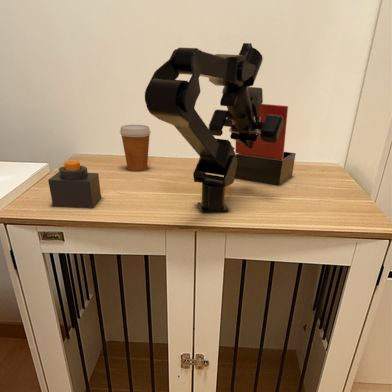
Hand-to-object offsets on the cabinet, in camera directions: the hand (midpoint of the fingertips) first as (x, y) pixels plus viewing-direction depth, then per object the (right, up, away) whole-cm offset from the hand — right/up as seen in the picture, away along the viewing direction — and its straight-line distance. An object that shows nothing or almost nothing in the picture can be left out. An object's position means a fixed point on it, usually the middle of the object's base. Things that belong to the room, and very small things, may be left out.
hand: (251, 146), depth 112 cm
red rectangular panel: (+3, +6, +2) cm, 7 cm away
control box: (-45, -18, -9) cm, 50 cm away
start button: (-45, -12, -13) cm, 49 cm away
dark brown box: (+6, -2, +16) cm, 17 cm away
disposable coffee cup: (-34, +3, +20) cm, 40 cm away
